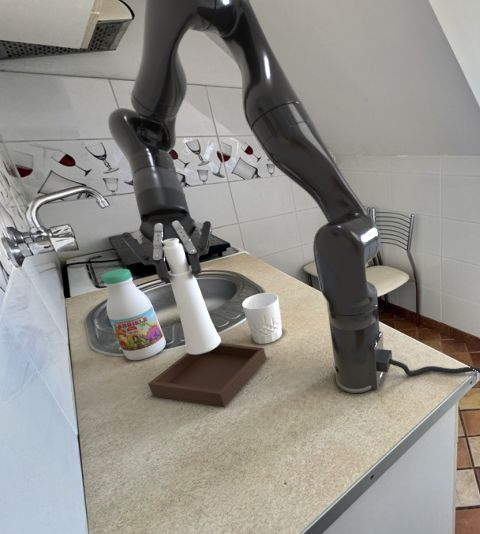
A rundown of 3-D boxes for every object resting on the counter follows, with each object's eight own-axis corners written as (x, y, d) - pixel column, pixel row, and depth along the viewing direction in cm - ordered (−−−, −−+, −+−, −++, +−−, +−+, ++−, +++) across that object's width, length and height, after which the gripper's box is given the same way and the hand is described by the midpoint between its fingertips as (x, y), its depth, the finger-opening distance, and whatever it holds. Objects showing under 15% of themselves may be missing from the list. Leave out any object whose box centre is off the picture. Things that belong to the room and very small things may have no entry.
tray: (266, 359, 71) (263, 347, 70) (224, 407, 59) (220, 394, 58) (205, 352, 74) (202, 340, 73) (153, 396, 62) (147, 383, 61)
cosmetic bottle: (193, 338, 66) (159, 236, 57) (225, 334, 67) (196, 233, 58) (180, 356, 61) (141, 247, 52) (215, 352, 62) (182, 244, 53)
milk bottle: (123, 350, 75) (89, 272, 67) (163, 336, 80) (135, 262, 72) (128, 366, 70) (91, 283, 62) (170, 350, 75) (141, 272, 67)
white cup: (273, 347, 75) (265, 310, 71) (243, 343, 77) (234, 307, 73) (290, 328, 82) (284, 294, 79) (263, 325, 84) (255, 291, 80)
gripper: (105, 189, 54) (123, 280, 49) (201, 181, 61) (225, 260, 57) (120, 214, 60) (137, 297, 56) (206, 204, 67) (228, 277, 63)
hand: (182, 278), depth 56 cm, fingers closed on cosmetic bottle, 3 cm apart
